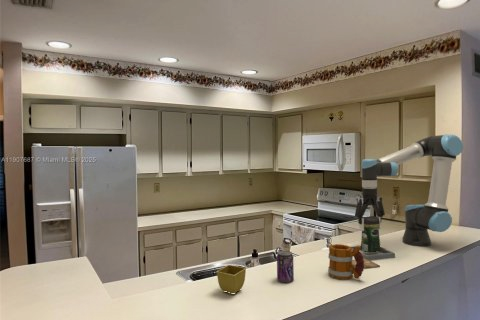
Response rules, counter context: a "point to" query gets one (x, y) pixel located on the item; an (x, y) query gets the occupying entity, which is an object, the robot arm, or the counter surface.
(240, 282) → the flower pot
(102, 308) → the counter surface
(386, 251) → the grey square shallow frame
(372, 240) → the coffee jar
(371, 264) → the pad
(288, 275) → the beverage can
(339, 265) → the mug
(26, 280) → the counter surface
